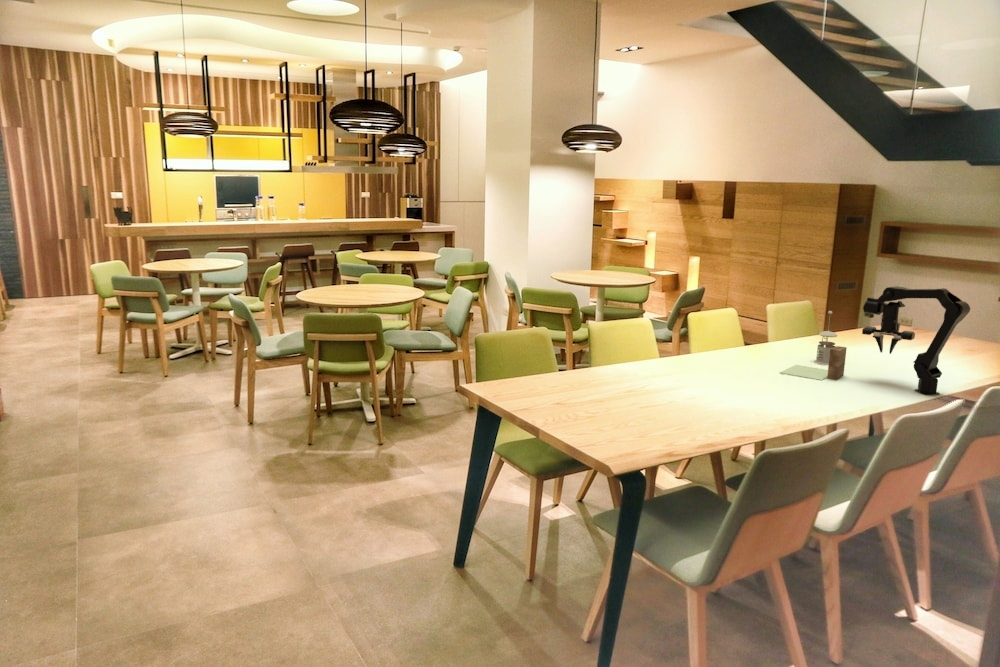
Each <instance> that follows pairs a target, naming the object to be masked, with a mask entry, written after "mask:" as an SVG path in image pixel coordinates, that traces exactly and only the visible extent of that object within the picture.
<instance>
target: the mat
mask: <svg viewBox="0 0 1000 667" xmlns="http://www.w3.org/2000/svg"><path fill="white" fill-rule="evenodd" d="M779 374H783V375H787V376H794V377H800V378H806V379H811V380H817V381H823V380H825V379H828V378H827V376H828V369H825V368H818V367H812V366H806V365H800V364H794V365H792V366H790V367H788V368H786V369H784V370H782V371H780V372H779Z"/></svg>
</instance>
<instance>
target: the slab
mask: <svg viewBox="0 0 1000 667" xmlns="http://www.w3.org/2000/svg"><path fill="white" fill-rule="evenodd" d="M835 346H836V347H834V348H832V349H830V356H829V365H827V367H828V368H827V370H828V376H827V378H826V379H828V380H835V381H838V380H840V379H841V378H843V377H844V375H845V364H846V358H847V357H846V356H847V348H848V347H846V346H838V345H835Z"/></svg>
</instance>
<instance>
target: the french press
mask: <svg viewBox="0 0 1000 667" xmlns="http://www.w3.org/2000/svg"><path fill="white" fill-rule="evenodd" d="M827 314H829V317H828V323H830V320H831V319H830V318H831V315H832V314H833V311H832V310H829V311H828V312H827ZM827 329H828V330H826V331H825V330H823V331H821V332H819V333H818V335H819V336H820V337H822V338H821V341H819V342H818V344H817V351H816V359H815V360H813V363H814V364H817V365H822V366H829V356H830V349H832V348H834V347H836V346H837V345H836V343H835V342H833V341H828V340H829V339H828V338H837V337H838V334H837V333H836V332H833V331H830V325H828V327H827Z"/></svg>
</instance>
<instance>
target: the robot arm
mask: <svg viewBox="0 0 1000 667" xmlns="http://www.w3.org/2000/svg"><path fill="white" fill-rule="evenodd" d="M905 299H935V300H938V302H939V304H940V305H941V307H942V308H943V309H944V310H945V311H944V314H943V321H942V323H941V325H940V327H939V329H938V330H937V333H936V334H935V335H934V337H933V339H932V341H931V343H930V344H929V346H928V348H927V349H926V351H924V352H921V353H918V354H917V356H916V358H915V360H914V361H913V363H914V364H913V369H914V371H915V372H916V376H917V378H918V384H917V389H914V392H916V393H917V392H918V393H919V394H923V395H925V396H927V395H928V396H930V395H940V392H938V391H937V390H938V384H939V383H938V382H939V378H941V376H942V375H943V372H942V371H941V370H940V368H938V365H939V364H938V363H939V356H940V354H941V352H942V350H943V349H944V347H945V346H946V343H947V342H948V340H949V339H950V337H951V336H952V334H953V332H954V331H955V328H956V326H957V325H958V324H959V323H960V322H962V321H963V320H964V319H965V318H966V317H967V315H969V313H970V311H971V307H970V305H969V303H968V302H966V301H963V300H962V299H961V298H959V297H958V296H956V295H955V294H953V293H952V292H950V290H948V289H947V288H945V287H942V288H907V287H904V286H903V287H902V286H898V285H897V286H889V287H886V288H885V289H884V290H883V291H882V294H881V295H880V296H879V297H878V298H875V297H867V298H866V301H865V303H864V305H863V307H862V308H863V309H862V310H863V312H864V313H865V314H871V315H876V316H879V315H881V314H882V316H881V322H880V329H877V327H875V326H869V325H868V326H864V327H863V328H862V331H861V332H862V333H861V334H862V335H865V336H866V335H867V336H870V335H872V334H873V335H872V338H874V339H875V342H876V343H877V345H878V348H879V352H880V353H883V350H884V336H885V335H886V336H893V338H891V342H890V346H889V355H891V354H892V352H893V350H894V349H895V347H896V345H897V343H898V342H899V341H900V342H901V341H902V340H907V341H912V340H914V339H915V337H916V333H915V332H914V331H911V330H903V331H901V332H900V328H901V327H900V326H901V324H900V323H899V311H900V308H906V305H905V304H904V303H903V302H902V301H903V300H905ZM899 300H900V301H899ZM894 301H895V302H894ZM896 301H897V302H896ZM887 302H888V303H887Z"/></svg>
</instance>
